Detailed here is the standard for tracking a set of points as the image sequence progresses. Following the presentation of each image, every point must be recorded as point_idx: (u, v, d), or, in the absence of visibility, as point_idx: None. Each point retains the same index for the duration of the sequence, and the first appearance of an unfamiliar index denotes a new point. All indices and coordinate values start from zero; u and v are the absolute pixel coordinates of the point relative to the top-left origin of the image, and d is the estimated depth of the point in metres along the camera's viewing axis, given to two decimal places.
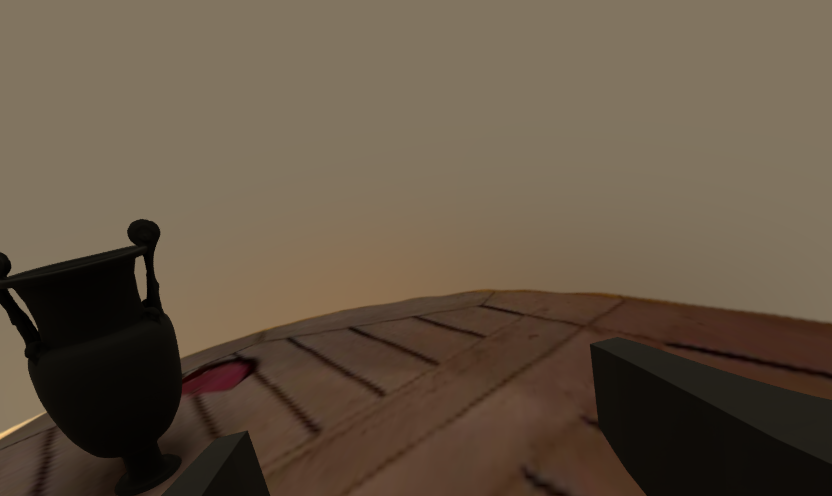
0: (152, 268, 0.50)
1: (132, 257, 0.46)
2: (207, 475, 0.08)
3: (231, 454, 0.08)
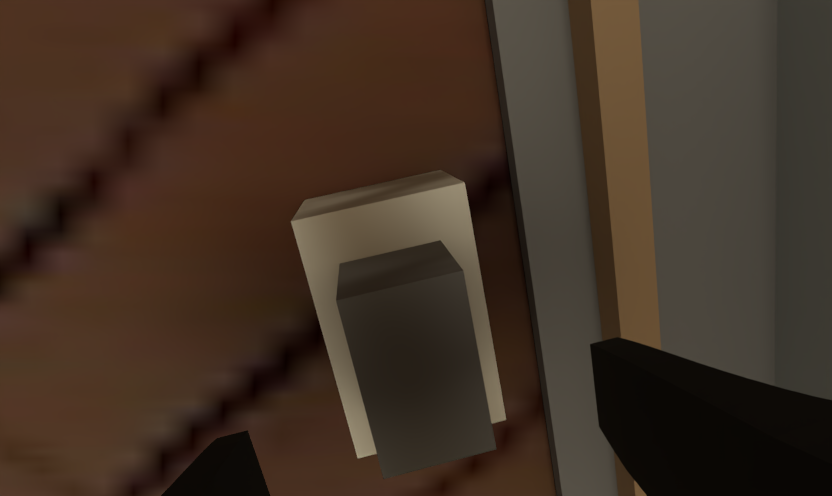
0: None
1: None
2: (207, 475, 0.08)
3: (231, 454, 0.08)
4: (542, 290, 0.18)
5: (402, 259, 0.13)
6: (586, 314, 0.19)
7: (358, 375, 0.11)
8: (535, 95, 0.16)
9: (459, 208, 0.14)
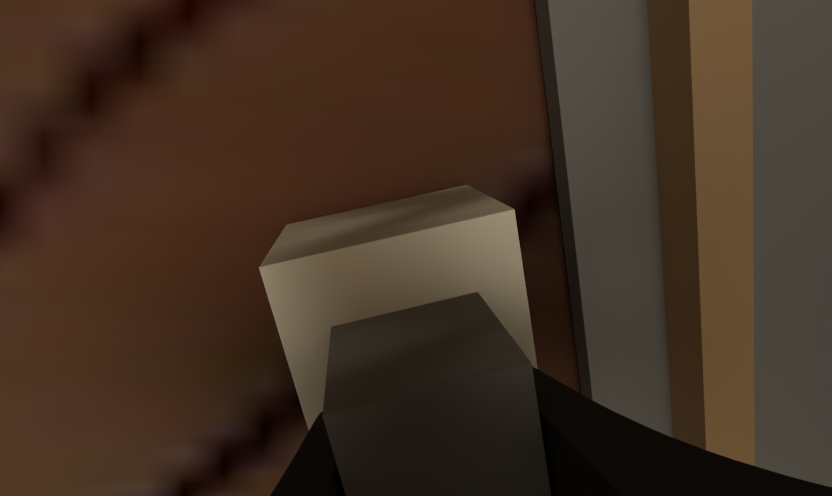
0: None
1: None
2: None
3: None
4: (597, 339, 0.14)
5: (424, 326, 0.09)
6: (652, 369, 0.14)
7: None
8: (596, 85, 0.12)
9: (505, 245, 0.09)
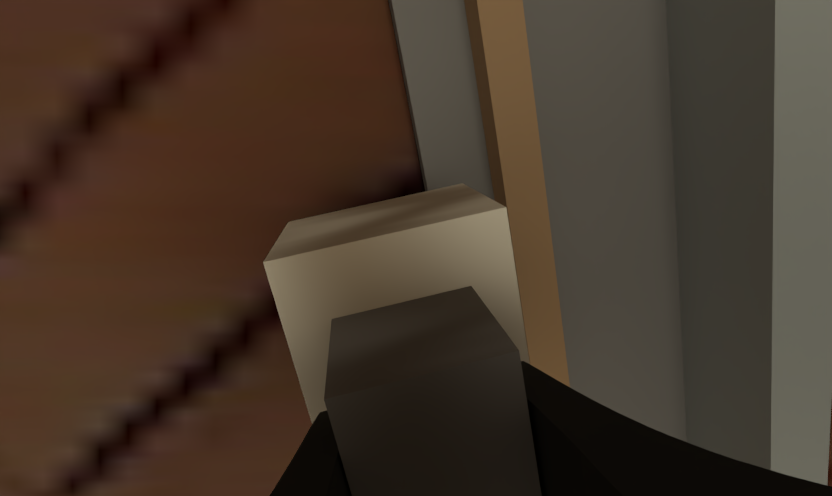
0: None
1: None
2: (331, 443, 0.08)
3: None
4: None
5: (420, 318, 0.09)
6: None
7: None
8: (441, 112, 0.17)
9: (498, 242, 0.10)
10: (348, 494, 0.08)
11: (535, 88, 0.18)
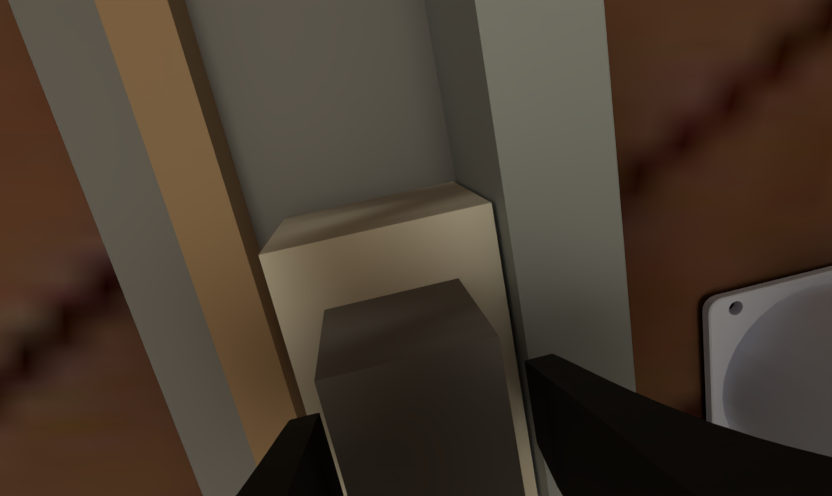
0: None
1: None
2: (295, 452, 0.08)
3: (312, 433, 0.08)
4: (182, 412, 0.15)
5: (408, 308, 0.10)
6: None
7: (347, 482, 0.08)
8: (122, 183, 0.13)
9: (484, 236, 0.10)
10: None
11: (255, 149, 0.13)
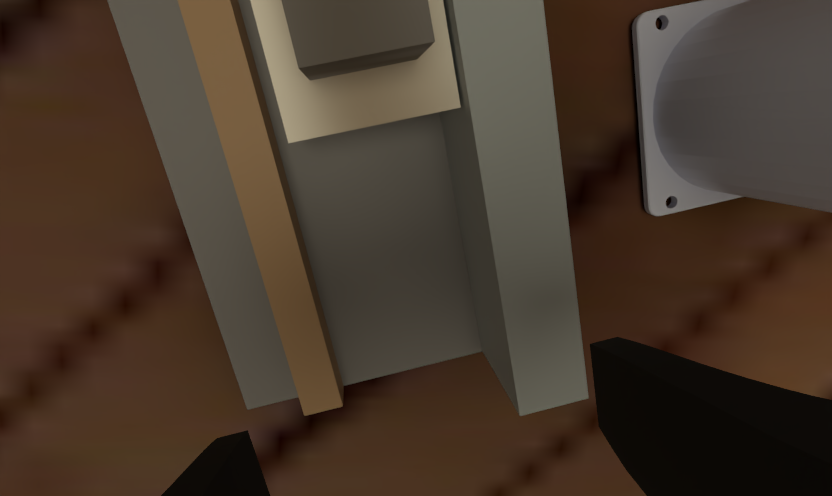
0: None
1: None
2: (207, 475, 0.08)
3: (231, 454, 0.08)
4: (147, 83, 0.16)
5: None
6: (208, 116, 0.17)
7: None
8: None
9: None
10: None
11: None
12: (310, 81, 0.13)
